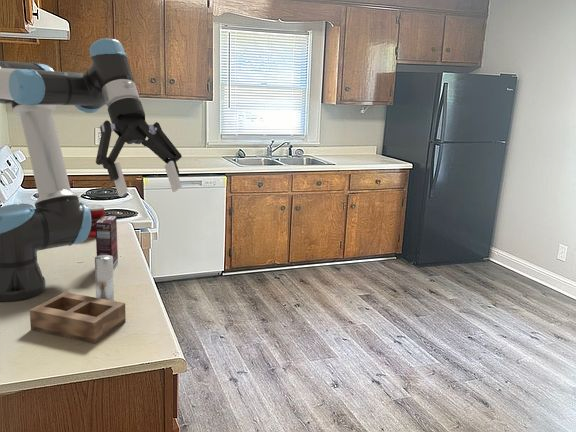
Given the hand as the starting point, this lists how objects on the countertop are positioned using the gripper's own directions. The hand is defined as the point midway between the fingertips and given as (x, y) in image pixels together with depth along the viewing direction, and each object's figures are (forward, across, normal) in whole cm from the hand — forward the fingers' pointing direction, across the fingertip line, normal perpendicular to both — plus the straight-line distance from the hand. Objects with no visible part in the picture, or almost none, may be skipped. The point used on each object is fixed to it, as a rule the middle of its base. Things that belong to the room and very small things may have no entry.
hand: (151, 191), depth 113 cm
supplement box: (+2, +18, +59) cm, 62 cm away
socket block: (+20, -8, +33) cm, 39 cm away
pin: (+16, +3, +39) cm, 42 cm away
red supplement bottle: (-18, +32, +89) cm, 97 cm away
